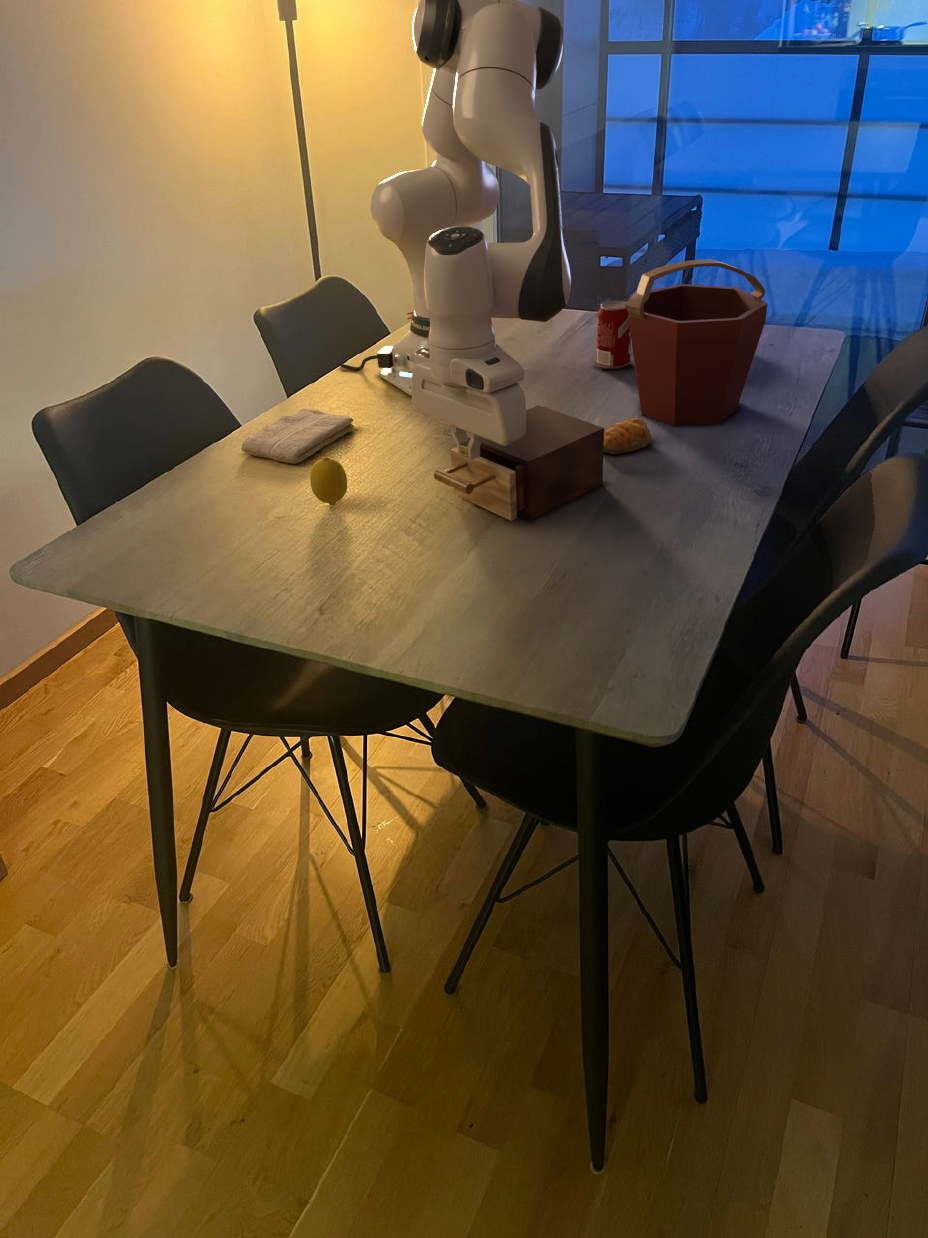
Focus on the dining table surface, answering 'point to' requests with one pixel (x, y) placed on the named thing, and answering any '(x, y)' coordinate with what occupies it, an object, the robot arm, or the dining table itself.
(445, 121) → the robot arm
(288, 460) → the washcloth
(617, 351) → the soda can
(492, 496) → the drawer
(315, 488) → the lemon
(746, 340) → the bucket
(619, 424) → the pastry
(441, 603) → the dining table surface
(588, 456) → the cabinet
